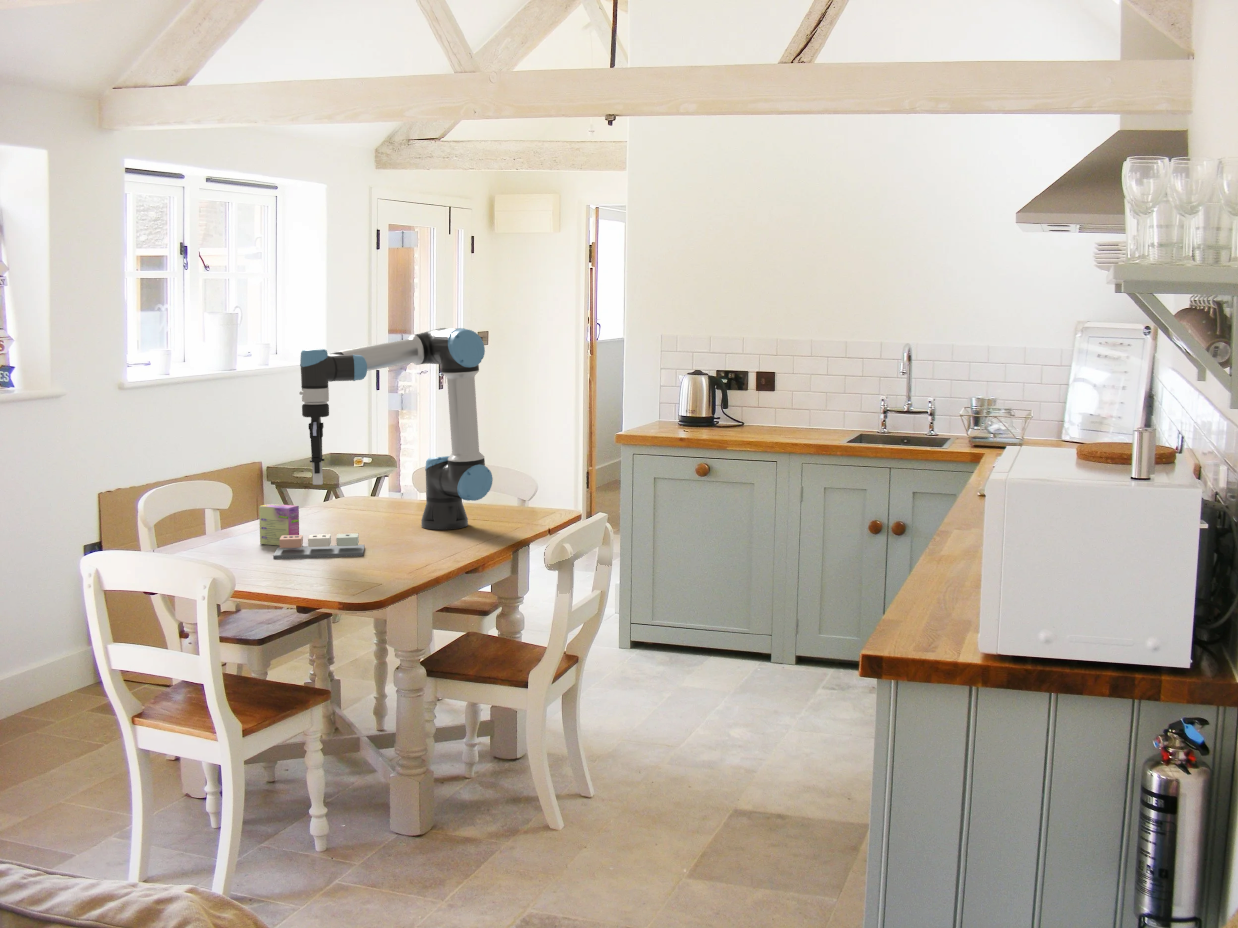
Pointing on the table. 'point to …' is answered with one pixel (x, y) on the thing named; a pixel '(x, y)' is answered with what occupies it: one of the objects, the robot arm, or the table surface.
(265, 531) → the box
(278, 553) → the keypad board
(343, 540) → the tile one
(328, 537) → the tile two
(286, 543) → the tile three
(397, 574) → the table surface
